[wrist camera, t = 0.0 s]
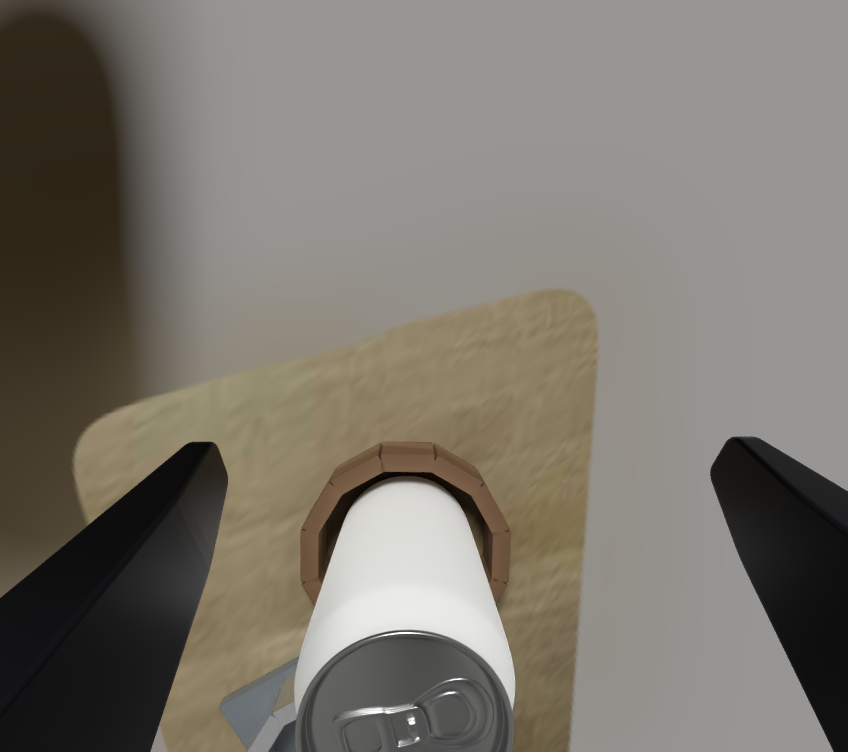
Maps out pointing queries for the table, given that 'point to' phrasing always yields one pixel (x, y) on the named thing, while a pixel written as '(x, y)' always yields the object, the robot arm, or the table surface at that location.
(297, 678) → the can
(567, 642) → the table surface
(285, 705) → the dock
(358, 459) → the brown segmented ring
